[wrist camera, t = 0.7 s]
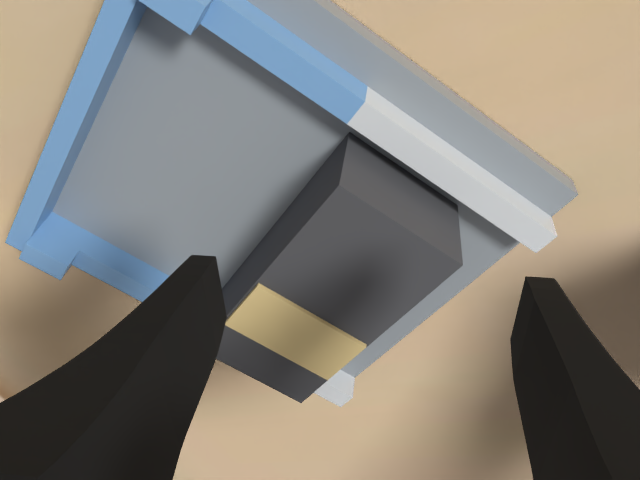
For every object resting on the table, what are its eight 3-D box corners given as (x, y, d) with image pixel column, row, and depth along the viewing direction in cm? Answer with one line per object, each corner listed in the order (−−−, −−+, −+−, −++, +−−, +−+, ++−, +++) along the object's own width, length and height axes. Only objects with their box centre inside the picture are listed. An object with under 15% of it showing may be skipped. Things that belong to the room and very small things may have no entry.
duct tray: (572, 179, 22) (592, 231, 20) (331, 383, 31) (323, 435, 29) (166, -122, 18) (124, -105, 15) (23, 216, 27) (-18, 262, 24)
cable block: (457, 205, 22) (463, 268, 19) (312, 341, 28) (300, 406, 25) (349, 131, 21) (338, 187, 18) (220, 290, 27) (196, 352, 24)
